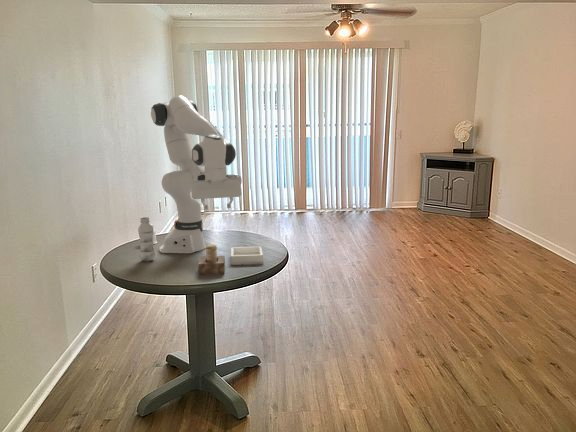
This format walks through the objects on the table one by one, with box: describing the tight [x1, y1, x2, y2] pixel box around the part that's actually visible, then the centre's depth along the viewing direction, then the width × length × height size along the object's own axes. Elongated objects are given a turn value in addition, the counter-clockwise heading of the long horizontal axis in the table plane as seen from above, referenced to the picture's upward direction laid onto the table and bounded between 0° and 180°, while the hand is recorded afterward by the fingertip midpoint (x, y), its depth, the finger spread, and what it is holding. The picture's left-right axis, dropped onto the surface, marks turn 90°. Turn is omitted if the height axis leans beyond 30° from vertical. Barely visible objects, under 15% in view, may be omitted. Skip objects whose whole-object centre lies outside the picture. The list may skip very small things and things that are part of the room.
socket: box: [197, 255, 226, 277], centre depth 202 cm, size 10×10×5 cm
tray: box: [230, 245, 264, 266], centre depth 218 cm, size 14×14×4 cm
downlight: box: [149, 223, 158, 245], centre depth 245 cm, size 8×7×10 cm
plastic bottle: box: [137, 216, 156, 262], centre depth 215 cm, size 6×7×20 cm
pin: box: [205, 244, 218, 262], centre depth 202 cm, size 4×4×11 cm
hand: (217, 208), depth 196 cm, fingers open, 8 cm apart
